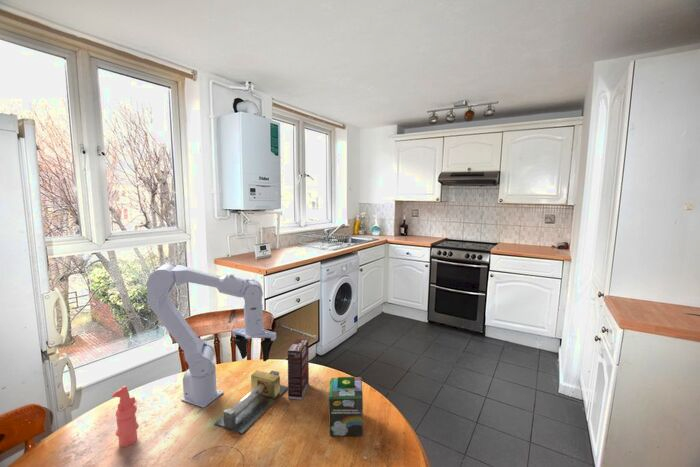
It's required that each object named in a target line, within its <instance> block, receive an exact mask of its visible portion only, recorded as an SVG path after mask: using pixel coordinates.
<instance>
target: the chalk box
mask: <svg viewBox="0 0 700 467" xmlns="http://www.w3.org/2000/svg"><path fill="white" fill-rule="evenodd" d="M362 379H363V377H361V376H338V377H332V378H330V381H329V391H328V418H329V420H328V424H329V436H330V437H334V436H335V437H341V436H342V437H343V436H344V437H363V435H364V423H363V422H364V421H363V420H364V411H363V410H364V408H363V407H364V404H363V403H364V401H363V400H364V395H363V380H362Z"/></svg>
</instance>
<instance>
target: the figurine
mask: <svg viewBox="0 0 700 467" xmlns="http://www.w3.org/2000/svg"><path fill="white" fill-rule="evenodd" d="M111 398H119V403H118V404H117V409H116V411H115V417H116V426H117V429H116V430H115V436H116V437H118V438H117V439H118V446H119V447H122V448H125V447H129V446H131V445H133V444H134V443H135V442H136V441H137V439H138V431H137V430H138V429H139V428H140V424H139V423H138V422H137V421H138V420H137V417H136V413H137V409H138V408H137V405H136V402H137V401H136V397H135V396H130V393H129V390H128V385H123V386H122V387H121V388H119V389H118V390H116V391H115V392H114V393H112V395H111Z"/></svg>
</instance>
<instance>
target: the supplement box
mask: <svg viewBox="0 0 700 467" xmlns="http://www.w3.org/2000/svg"><path fill="white" fill-rule="evenodd" d="M309 341H310V340H309V339H301V338H300V339H297V338H296V339H295V340H294V342H293V343H292V344H291V346H290V347H289V349H288V350H287V387H288V389H287V398H288V399H289V400H291V399H292V400H299V401H300V400H301V401H302V400H303V398H304V396H305V392H306V391H307V389H308V387H309V384H310V383H309V381H310V380H309V379H310V378H309V377H310V376H309V375H310V374H309V369H310V368H309V365H310V364H309V363H310V362H309V357H310V356H309Z"/></svg>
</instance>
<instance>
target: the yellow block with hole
mask: <svg viewBox="0 0 700 467" xmlns="http://www.w3.org/2000/svg"><path fill="white" fill-rule="evenodd" d="M250 381H251V382H250V384H251V387H250V388H251V390H253V389H254V388H255V387H256V386H257V385H258V384H259V383H260V382H261V381H264V382H268V389H267V390H266V391H264V392H263V393H262V395H266V396H269V397H272V398H275V397H276V396H277V395H278V394H279V393H280V385H281V377H280V375H279V376H277V375H273V374H270V372H269V373H268V372H264V371H262V370H256V371H254V372H253V373H252V374H250Z"/></svg>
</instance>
